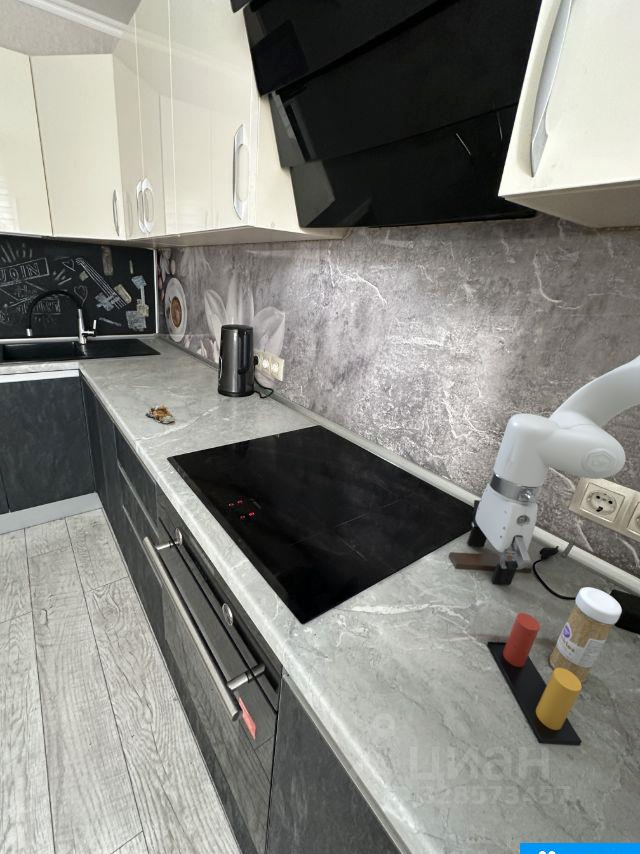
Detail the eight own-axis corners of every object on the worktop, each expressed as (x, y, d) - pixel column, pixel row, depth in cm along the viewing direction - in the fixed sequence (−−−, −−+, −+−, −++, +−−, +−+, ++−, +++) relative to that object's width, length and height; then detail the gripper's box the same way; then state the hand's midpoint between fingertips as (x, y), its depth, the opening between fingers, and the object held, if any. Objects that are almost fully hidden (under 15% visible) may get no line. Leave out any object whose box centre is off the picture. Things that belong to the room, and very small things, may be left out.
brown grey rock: (163, 425, 128) (163, 415, 126) (143, 415, 135) (143, 405, 134) (181, 420, 133) (181, 410, 132) (161, 410, 140) (161, 401, 139)
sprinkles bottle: (541, 653, 58) (571, 584, 53) (571, 655, 58) (604, 586, 53) (562, 684, 54) (596, 612, 49) (594, 686, 54) (632, 614, 49)
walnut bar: (518, 568, 75) (522, 556, 74) (527, 581, 72) (532, 568, 71) (446, 564, 75) (449, 551, 74) (453, 576, 72) (456, 563, 71)
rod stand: (519, 646, 59) (535, 607, 56) (580, 745, 47) (604, 702, 44) (486, 645, 59) (501, 605, 56) (539, 743, 47) (560, 699, 44)
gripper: (570, 517, 58) (534, 602, 65) (508, 462, 74) (484, 534, 81) (521, 513, 58) (489, 599, 64) (470, 459, 74) (449, 532, 81)
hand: (487, 563), depth 73 cm, fingers open, 9 cm apart
